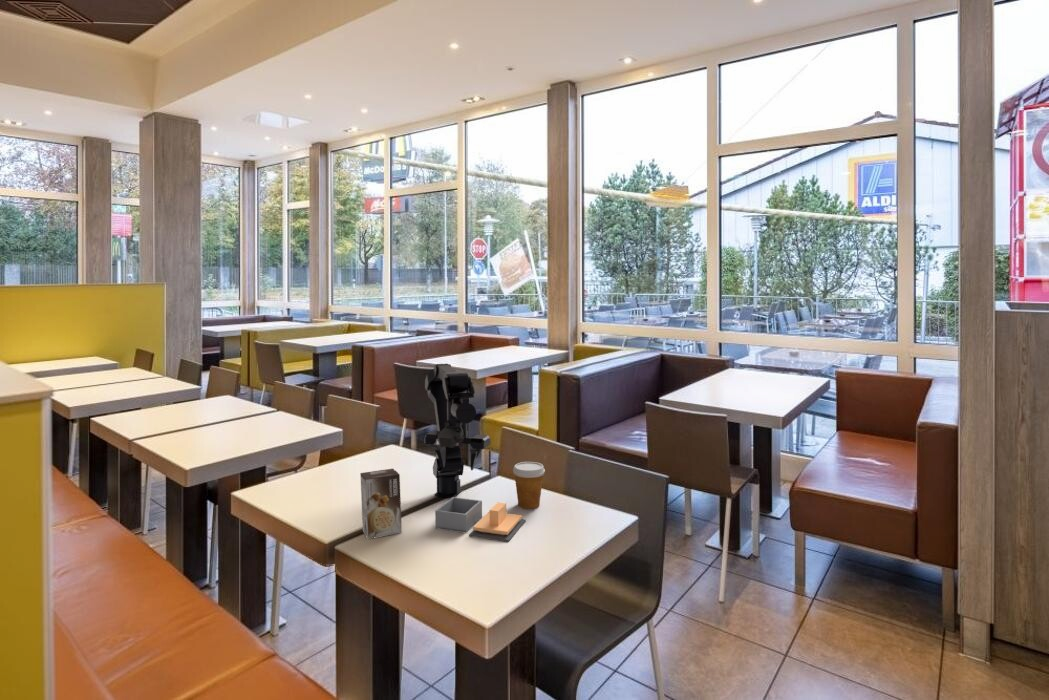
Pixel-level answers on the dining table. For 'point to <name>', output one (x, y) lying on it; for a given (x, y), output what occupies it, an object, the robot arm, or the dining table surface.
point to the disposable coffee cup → (528, 483)
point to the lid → (497, 521)
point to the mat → (497, 536)
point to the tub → (458, 514)
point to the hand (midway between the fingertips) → (457, 468)
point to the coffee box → (381, 503)
